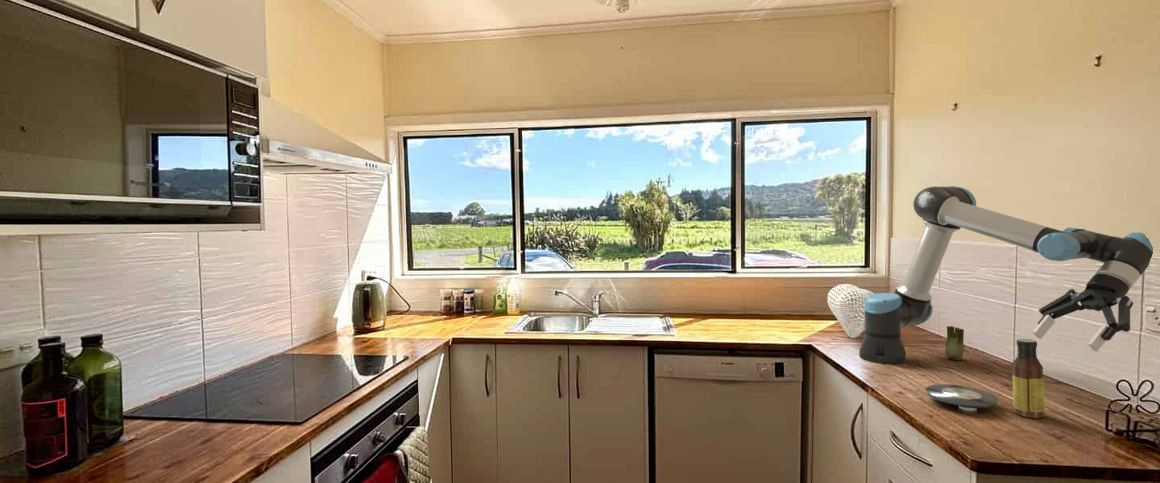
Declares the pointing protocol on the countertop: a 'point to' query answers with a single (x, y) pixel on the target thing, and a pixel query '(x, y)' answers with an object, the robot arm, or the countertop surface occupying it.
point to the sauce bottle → (1028, 381)
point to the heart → (839, 313)
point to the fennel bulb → (954, 343)
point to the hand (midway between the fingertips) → (1062, 341)
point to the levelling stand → (962, 397)
